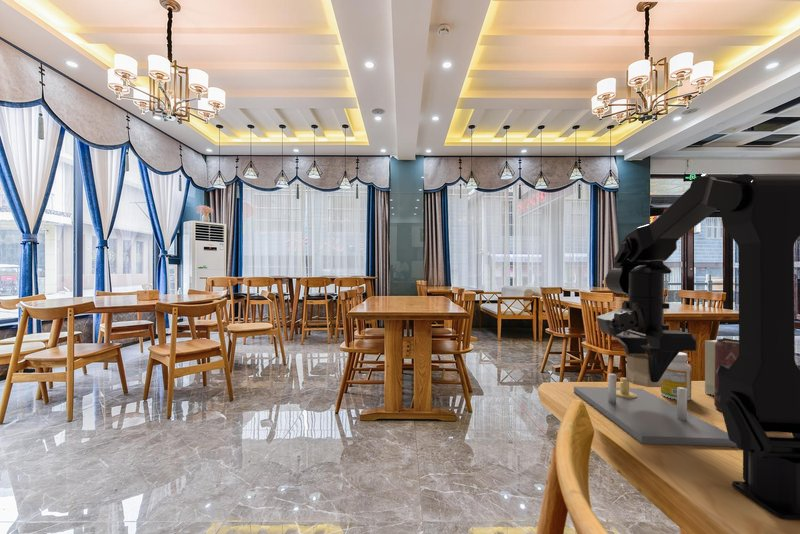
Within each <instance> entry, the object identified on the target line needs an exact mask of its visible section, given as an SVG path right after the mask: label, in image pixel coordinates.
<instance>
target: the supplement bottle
mask: <svg viewBox="0 0 800 534" xmlns="http://www.w3.org/2000/svg"><path fill="white" fill-rule="evenodd" d="M687 361H688V353H686V352H679V353H678V354H677V356H676V357H675V358H674V359H673V361H672V362H671V363H670V365H669V366H668V368H667V369H666V371H665V372H664V374H663V385H662V386H661V387H660V394H661V395H662V397H664V396H665V397H664V398H667V397H668V398H667V399H670V398H671V400H674V399H675V400H676V401H677V387H683V388H686V389H687V402H688V401H690V400H691V399H692V366H691V365H690V364H689V363H687Z"/></svg>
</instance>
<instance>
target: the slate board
mask: <svg viewBox="0 0 800 534" xmlns="http://www.w3.org/2000/svg"><path fill="white" fill-rule="evenodd" d="M607 377H608V378H607V384H608V385H607V387H605V386H604V387H598V386H573V392H574V393H575V394H576V395H577V396H579V398H581V399H583V401H585V402H586V403H588V404H589V405H590V406H592V407H593V408H594V409H595V410H597V411H598V412H599V413H600V414H602V415H604V416H605V417H606V418H607V419H609V420H610V421H611V422H613V423H614V424H615V425H617V426H618V427H620V428H621V429H622V430H624V431H625V432H626V433H628V435H630V436H631V437H632V438H634V439H635V440H637V441H638V442H640V444H644V445H645V444H646V445H647V444H648V445H649V444H651V445H678V446H679V445H680V446H681V445H682V446H683V445H684V446H707V447H713V446H714V447H736V448H737V445H736V443H734V442H732V441H730V439H729V437H728V433H727V431H725V430H723V429H721V428H719V427H717V426H715V425H713V424H711V423H709V422H707V421H705V420H703V419H702V418H700V417H697V416H696V415H694V414H692V413H690V412H688V401H687V389H686V388H683V387H677V400H676V405H674V404H673V403H671V402H669V401H667V400H664V399H663V398H661V397H659V396H657V395H655V394H653V393H651V392H649V391H648V390H645V389H644V388H642V387H641V388H640V387H639V388H638V387H633V388H632V387H630V382H629V381H627V380H626V377H620V381H619V382H623V383H619V384H620V385H619V386H620V387H617V374H615V373H608V374H607Z"/></svg>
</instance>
